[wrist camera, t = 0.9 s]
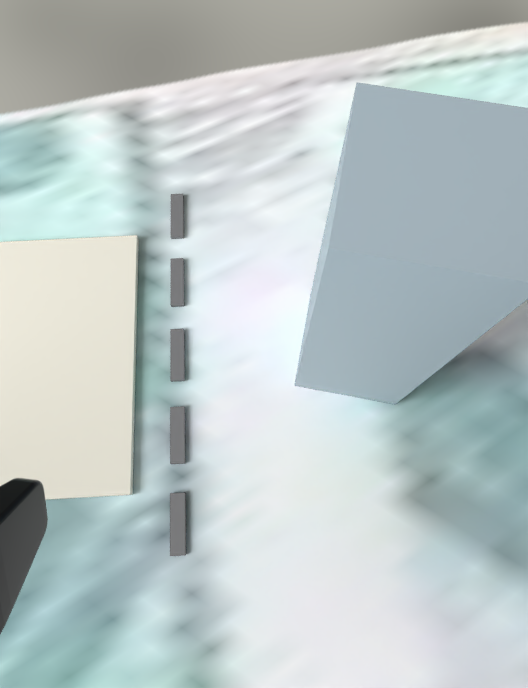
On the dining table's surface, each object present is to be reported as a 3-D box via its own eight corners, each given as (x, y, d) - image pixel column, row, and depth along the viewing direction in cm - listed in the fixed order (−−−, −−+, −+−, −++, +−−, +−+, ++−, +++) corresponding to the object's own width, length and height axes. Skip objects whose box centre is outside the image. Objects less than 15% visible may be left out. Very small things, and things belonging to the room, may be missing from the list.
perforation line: (171, 196, 26) (170, 194, 25) (183, 196, 26) (182, 193, 25) (171, 555, 20) (170, 556, 20) (185, 554, 20) (185, 555, 20)
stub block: (395, 404, 22) (544, 285, 10) (294, 385, 23) (328, 248, 11) (405, 311, 24) (549, 110, 12) (310, 294, 24) (356, 82, 12)
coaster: (138, 239, 25) (136, 235, 24) (132, 494, 21) (129, 494, 21) (-110, 251, 25) (-115, 247, 24) (-160, 511, 21) (-168, 511, 20)
